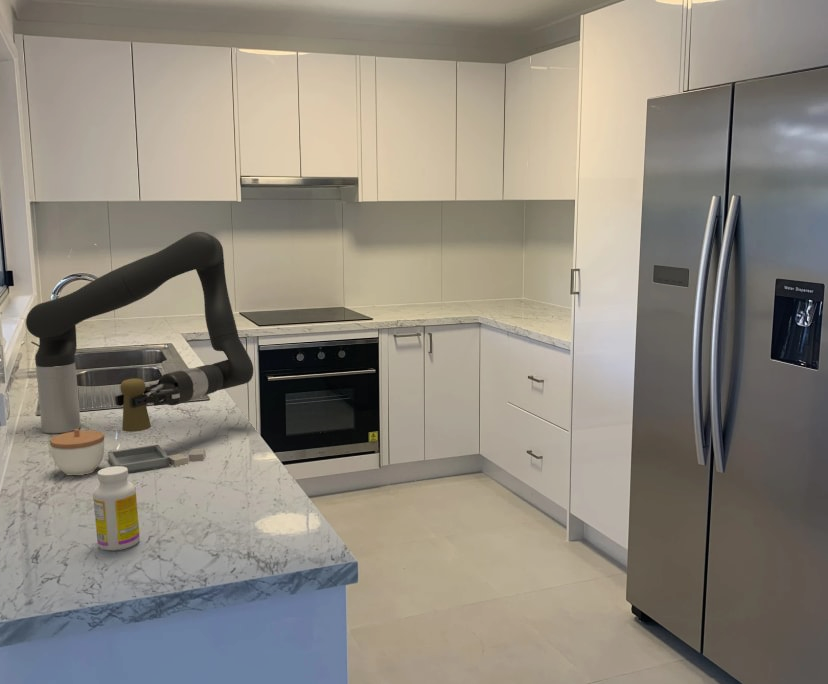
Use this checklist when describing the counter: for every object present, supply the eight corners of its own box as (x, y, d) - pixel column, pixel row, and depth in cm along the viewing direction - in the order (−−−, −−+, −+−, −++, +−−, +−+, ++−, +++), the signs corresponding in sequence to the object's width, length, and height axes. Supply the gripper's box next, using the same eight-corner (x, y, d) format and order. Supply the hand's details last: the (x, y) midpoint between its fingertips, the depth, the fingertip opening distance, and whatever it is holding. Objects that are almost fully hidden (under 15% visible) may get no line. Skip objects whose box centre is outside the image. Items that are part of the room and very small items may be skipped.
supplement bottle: (144, 535, 138) (139, 463, 136) (132, 551, 131) (127, 476, 129) (105, 536, 138) (99, 464, 136) (91, 552, 131) (85, 477, 129)
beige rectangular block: (192, 457, 183) (191, 449, 183) (205, 456, 183) (205, 449, 183) (189, 462, 179) (188, 454, 179) (203, 462, 179) (202, 454, 179)
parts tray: (108, 460, 181) (107, 451, 180) (158, 452, 186) (158, 444, 185) (117, 475, 170) (116, 466, 170) (170, 466, 175) (169, 457, 175)
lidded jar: (49, 482, 167) (45, 438, 165) (57, 466, 177) (53, 425, 175) (104, 476, 169) (100, 433, 168) (108, 462, 180) (105, 421, 178)
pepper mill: (141, 422, 182) (136, 375, 180) (156, 426, 178) (152, 378, 176) (116, 429, 177) (112, 380, 175) (131, 433, 173) (127, 383, 172)
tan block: (167, 464, 178) (167, 456, 178) (180, 461, 180) (180, 453, 180) (175, 468, 175) (174, 460, 175) (188, 465, 177) (187, 457, 177)
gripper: (161, 367, 192) (100, 382, 177) (204, 372, 184) (144, 388, 170) (163, 398, 193) (103, 415, 178) (206, 404, 186) (147, 422, 171)
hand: (123, 402), depth 174 cm, fingers closed on pepper mill, 4 cm apart
